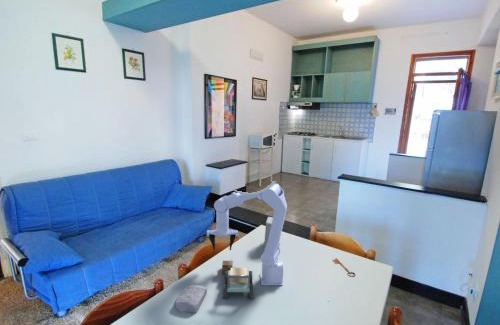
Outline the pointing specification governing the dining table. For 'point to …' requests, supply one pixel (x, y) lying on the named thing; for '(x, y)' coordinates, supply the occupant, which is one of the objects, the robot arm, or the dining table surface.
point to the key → (343, 266)
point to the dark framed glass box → (238, 281)
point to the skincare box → (267, 230)
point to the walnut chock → (226, 267)
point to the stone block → (191, 298)
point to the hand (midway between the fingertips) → (222, 249)
